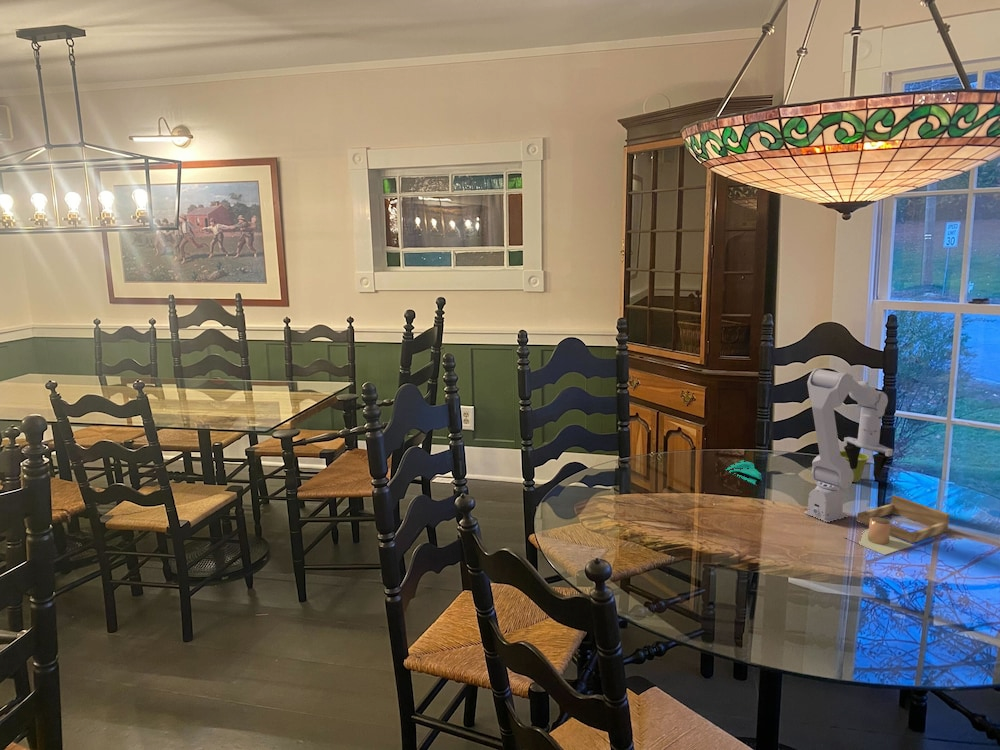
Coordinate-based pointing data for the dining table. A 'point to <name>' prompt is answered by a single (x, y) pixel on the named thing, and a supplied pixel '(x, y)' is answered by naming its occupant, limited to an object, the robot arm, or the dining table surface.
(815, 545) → the dining table surface
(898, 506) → the cold frame
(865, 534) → the potting mat
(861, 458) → the plant pot
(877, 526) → the terracotta pot
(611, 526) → the dining table surface
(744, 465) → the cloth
